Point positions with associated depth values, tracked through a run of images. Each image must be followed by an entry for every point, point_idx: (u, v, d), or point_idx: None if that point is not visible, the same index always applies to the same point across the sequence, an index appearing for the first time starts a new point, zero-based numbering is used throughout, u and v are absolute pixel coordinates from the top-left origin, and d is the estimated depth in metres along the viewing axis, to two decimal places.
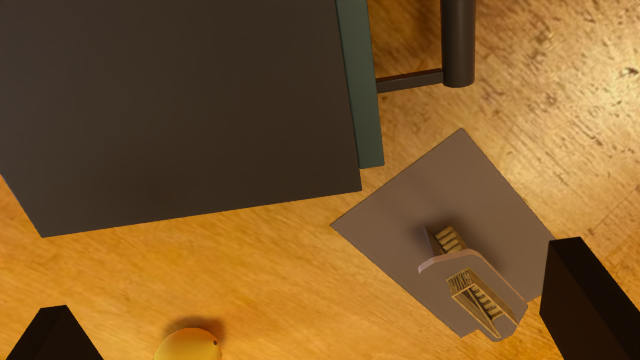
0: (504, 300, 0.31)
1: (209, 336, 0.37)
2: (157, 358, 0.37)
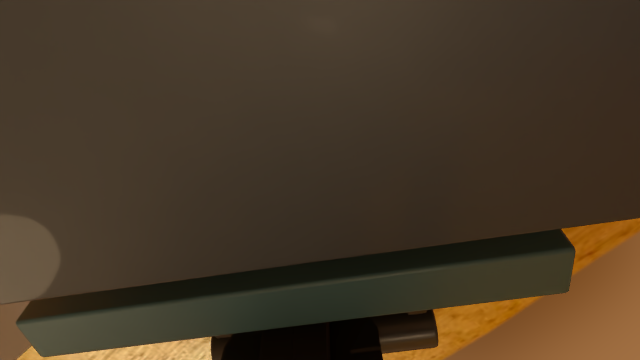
0: None
1: None
2: None
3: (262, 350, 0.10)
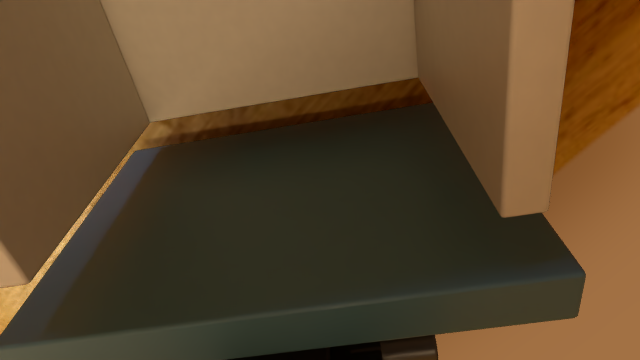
0: None
1: None
2: None
3: None
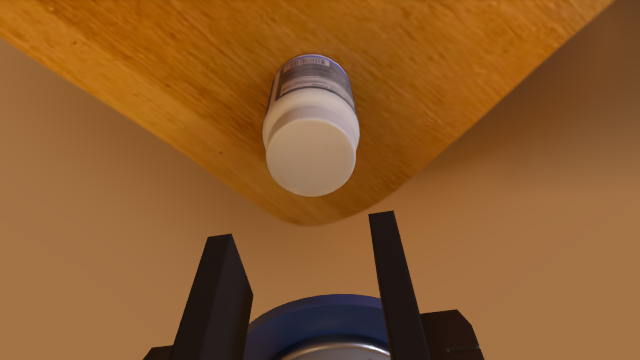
0: None
1: None
2: None
3: None
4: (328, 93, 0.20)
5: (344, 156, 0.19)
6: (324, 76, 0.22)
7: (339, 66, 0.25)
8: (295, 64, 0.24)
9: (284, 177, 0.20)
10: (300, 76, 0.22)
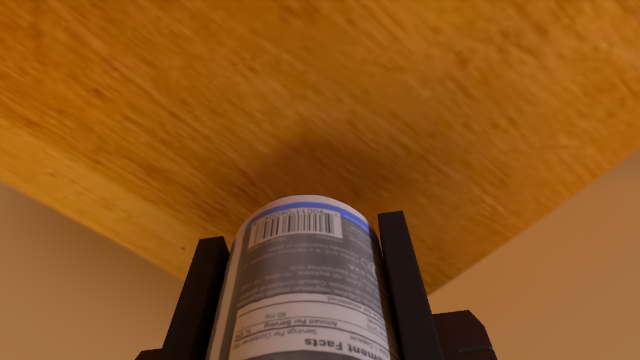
0: None
1: None
2: None
3: None
4: None
5: None
6: (333, 290, 0.10)
7: (360, 220, 0.13)
8: (272, 232, 0.12)
9: None
10: (280, 294, 0.10)
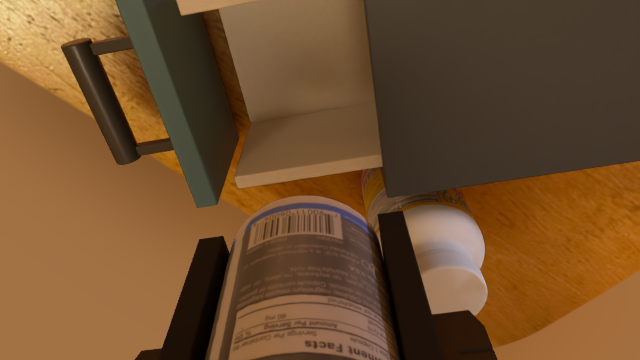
0: None
1: None
2: None
3: None
4: None
5: None
6: (333, 292, 0.10)
7: (360, 220, 0.13)
8: (272, 233, 0.12)
9: None
10: (279, 295, 0.10)
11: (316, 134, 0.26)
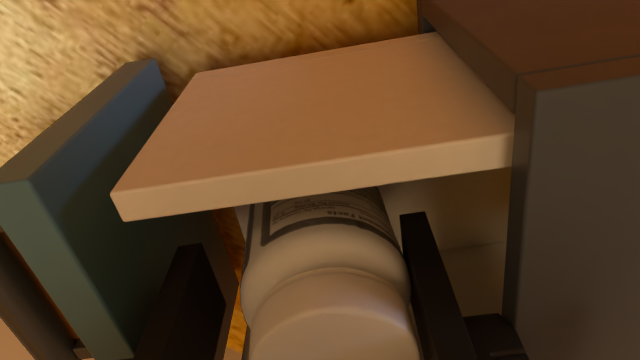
0: None
1: None
2: None
3: None
4: (359, 233, 0.11)
5: None
6: None
7: None
8: None
9: None
10: None
11: None
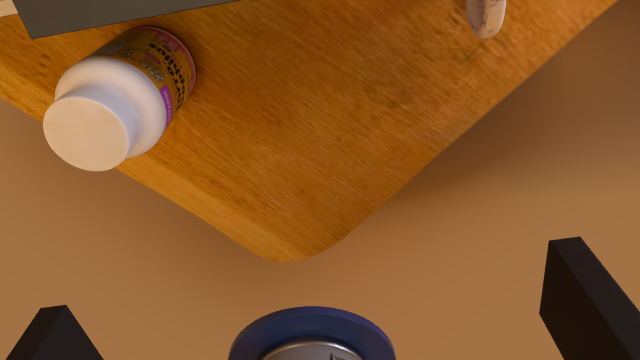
0: None
1: None
2: None
3: None
4: None
5: None
6: None
7: None
8: None
9: None
10: None
11: None
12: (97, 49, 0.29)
